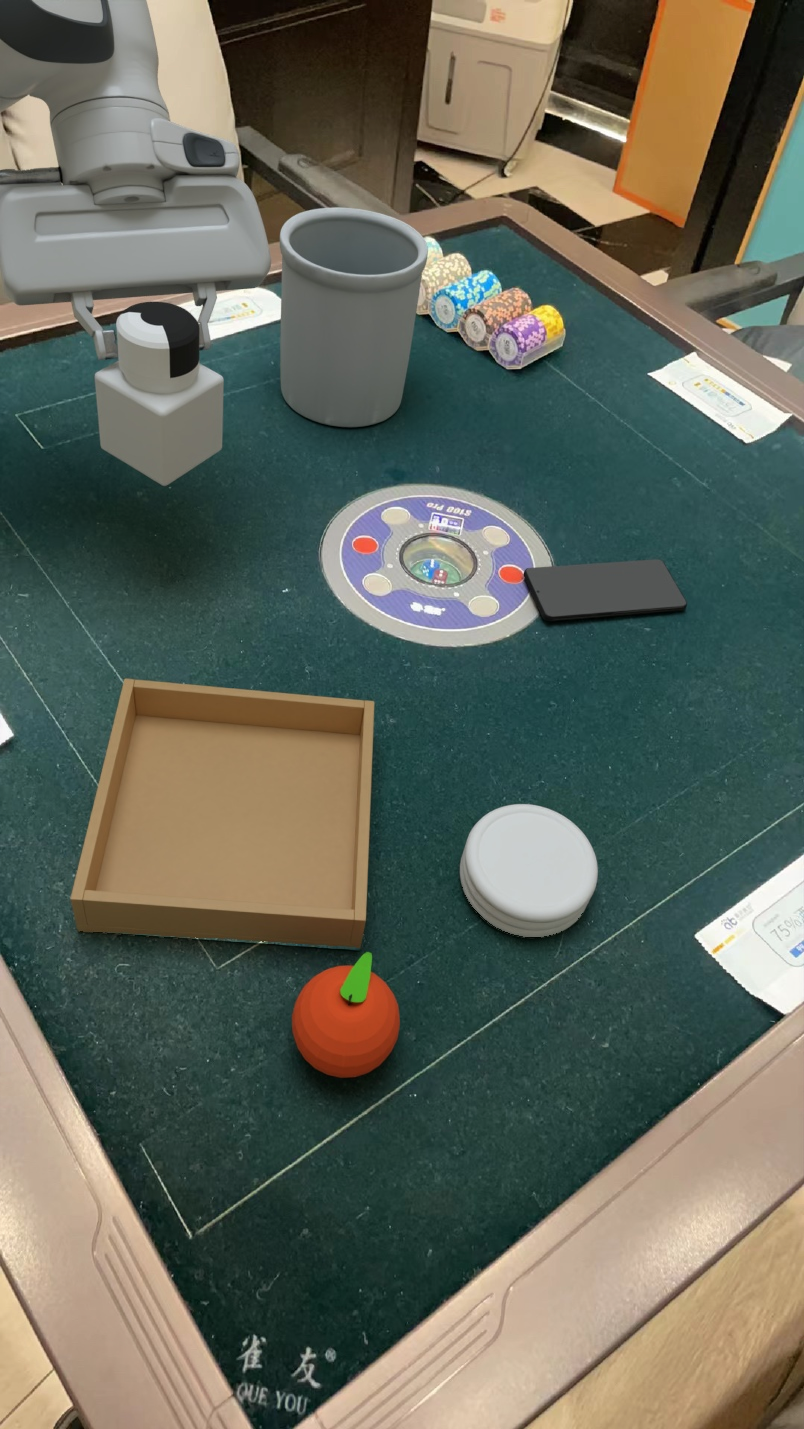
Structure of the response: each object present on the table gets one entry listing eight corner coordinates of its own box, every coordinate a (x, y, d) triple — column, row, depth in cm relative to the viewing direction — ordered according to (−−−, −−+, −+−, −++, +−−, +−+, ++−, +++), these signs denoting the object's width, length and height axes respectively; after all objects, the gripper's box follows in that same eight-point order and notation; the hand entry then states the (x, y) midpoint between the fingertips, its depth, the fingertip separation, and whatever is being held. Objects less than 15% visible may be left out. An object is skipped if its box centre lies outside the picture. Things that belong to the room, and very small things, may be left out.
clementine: (315, 966, 73) (322, 916, 68) (410, 999, 72) (425, 951, 67) (273, 1073, 68) (277, 1028, 62) (375, 1109, 67) (387, 1067, 62)
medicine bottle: (159, 412, 90) (155, 280, 80) (224, 450, 88) (227, 318, 79) (98, 449, 85) (86, 313, 76) (164, 489, 84) (160, 355, 74)
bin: (77, 931, 72) (69, 899, 69) (128, 714, 85) (124, 678, 82) (359, 951, 74) (366, 920, 71) (368, 736, 87) (374, 700, 83)
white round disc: (608, 926, 78) (621, 902, 75) (483, 953, 75) (492, 929, 73) (558, 816, 84) (569, 791, 81) (441, 838, 81) (448, 812, 79)
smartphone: (690, 605, 101) (545, 617, 97) (686, 612, 102) (543, 624, 98) (662, 557, 105) (522, 566, 101) (659, 564, 106) (520, 573, 102)
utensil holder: (272, 352, 121) (277, 199, 108) (399, 358, 124) (419, 210, 111) (276, 428, 112) (282, 271, 99) (413, 434, 115) (437, 281, 101)
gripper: (-28, 152, 73) (15, 355, 75) (257, 144, 80) (290, 331, 81) (-25, 187, 79) (15, 375, 81) (240, 177, 85) (271, 351, 87)
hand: (155, 353), depth 81 cm, fingers closed on medicine bottle, 6 cm apart
